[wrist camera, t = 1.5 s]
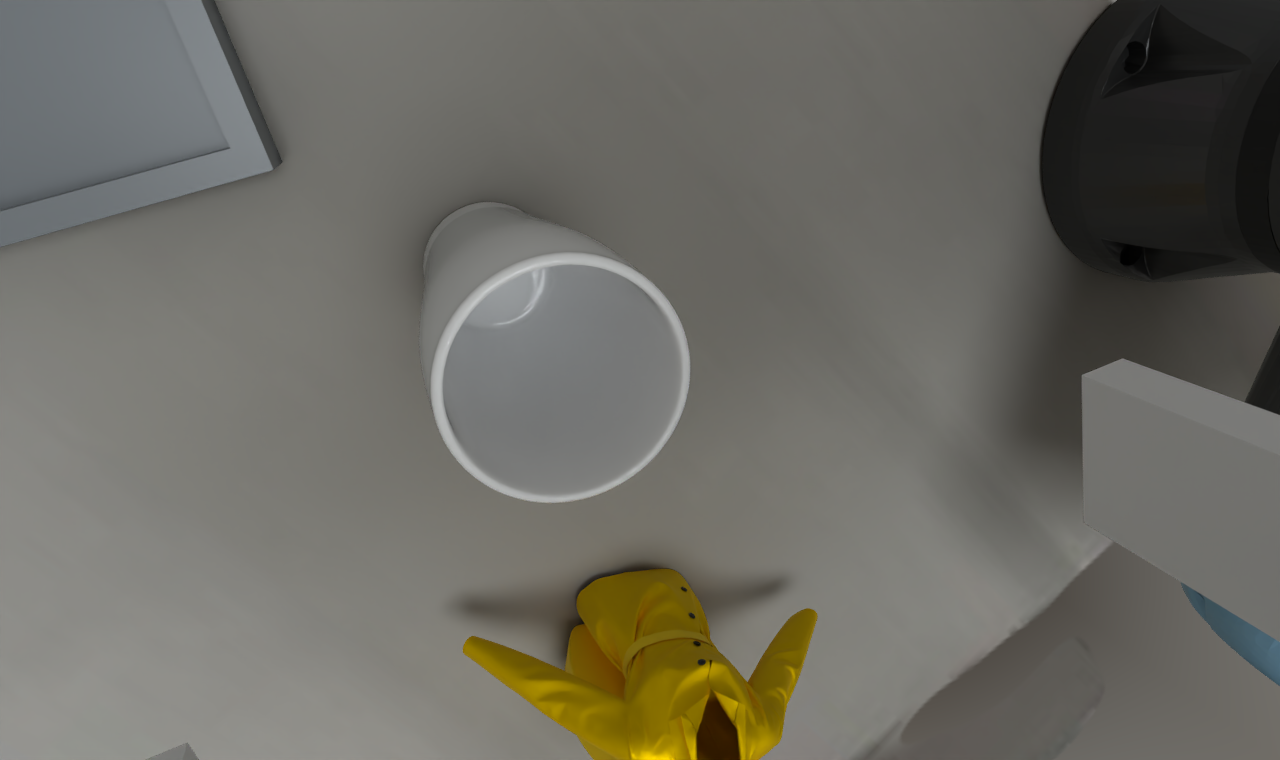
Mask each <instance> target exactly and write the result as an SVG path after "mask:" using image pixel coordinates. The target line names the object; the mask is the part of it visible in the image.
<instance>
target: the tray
mask: <svg viewBox="0 0 1280 760" xmlns="http://www.w3.org/2000/svg"><path fill="white" fill-rule="evenodd" d="M281 163H282V160H281V158H280V156H279V153H278V151H277V148H276V146H275V144H274V141H273V139H272V137H271V134H270V132H269V129H268V127H267V125H266V122H265V120H264V118H263V115H262V113H261V110H260V108H259V106H258V103H257V101H256V99H255V96H254V94H253V91H252V89H251V87H250V84H249V82H248V80H247V77H246V75H245V72H244V70H243V68H242V65H241V63H240V61H239V58H238V56H237V54H236V51H235V49H234V46H233V44H232V42H231V39H230V37H229V35H228V32H227V30H226V27H225V25H224V23H223V20H222V18H221V16H220V13H219V11H218V8H217V6H216V4H215V1H214V0H0V247H2V246H6V245H9V244H13V243H16V242H20V241H23V240H27V239H30V238H34V237H37V236H41V235H45V234H48V233H52V232H55V231H59V230H62V229H66V228H69V227H73V226H76V225H80V224H84V223H87V222H91V221H94V220H98V219H101V218H105V217H108V216H112V215H115V214H119V213H123V212H126V211H130V210H133V209H137V208H140V207H144V206H147V205H151V204H154V203H158V202H162V201H165V200H169V199H172V198H176V197H179V196H183V195H186V194H190V193H193V192H197V191H200V190H204V189H208V188H211V187H215V186H218V185H222V184H225V183H229V182H232V181H236V180H239V179H243V178H247V177H250V176H254V175H257V174H261V173H264V172H268V171H271V170H274V169H275V168H276V167H277V166H279V165H280V164H281Z"/></svg>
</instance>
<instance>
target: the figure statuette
mask: <svg viewBox="0 0 1280 760" xmlns="http://www.w3.org/2000/svg"><path fill="white" fill-rule="evenodd" d="M577 611H578V613H579V615H580V617H581V619H582V620H583V622H584V623H585V624H582V625H577V626H576V627H574V628H573V630H572V632H571V635H570V638H569V645H568V652H567V658H566V665H565V671H564V670H562V669H559V668H557V667H555V666H552V665H550V664H548V663H545V662H543V661H541V660H539V659H536V658H534V657H532V656H529V655H527V654H524V653H521V652H519V651H516V650H514V649H511V648H508V647H506V646H503V645H500V644H497V643H494V642H491V641H488V640H485V639H482V638H479V637H475V636H471V637H469V638H468V639H467V640H466V642H465V644H464V646H463V653H464V654H465V655H466V656H468V657H469V658H471V659H472V660H473V661H475V662H476V663H477V664H479V665H480V666H481V667H483V668H484V669H485V670H487V671H488V672H489V673H490V674H492V675H493V676H494V677H496V678H497V679H498V680H500V681H501V682H502V683H504V684H505V685H506V686H508V687H509V688H510V689H512V690H513V691H515V692H516V693H518V694H519V695H520V696H522V697H523V698H524V699H526V700H527V701H528V702H530V703H531V704H532V705H533V706H535V707H536V708H537V709H538V710H540V711H541V712H542V713H544V714H545V715H547V716H548V717H549V718H551V719H552V720H554V721H555V722H557V723H558V724H560V725H561V726H563V727H564V728H566V729H568V730H569V731H571V732H572V733H574V734H576V735H577V737H578V738H579V740H580V742H581V743H582V745H583V746H584V748H585V749H586V750H587V752H588V753H589V754H590V756H591V757H592V758H593V759H594V760H758V759H760V758H761V757H763V756H764V755H765V754H767V753H768V752H769V751H770V750H771V749H772V748H773V747H774V746H776V745H777V744H778V743H779V742H780V740H781V737H782V732H783V724H784V718H785V712H786V708H787V703H788V702H789V700H790V697H791V695H792V693H793V690H794V688H795V686H796V683H797V681H798V678H799V676H800V673H801V670H802V667H803V664H804V660H805V657H806V654H807V650H808V647H809V643H810V640H811V637H812V634H813V631H814V627H815V624H816V621H817V613H816V612H815V611H814V610H813V609H809V608H807V609H804V610H801V611H799V612H797V613H796V614H794V615H793V616H791V617H790V618H789V619H788V621H787V622H786V623H785V624H784V625H783V627H782V628H781V629H780V631H779V632H778V633H777V635H776V636H775V638H774V639H773V641H772V642H771V643H770V645H769V646H768V648H767V650H766V651H765V653H764V654H763V656H762V658H761V659H760V661H759V663H758V665H757V667H756V668H755V670H754V672H753V674H752V675H751V677H750V679H749V681H748V682H747V681H746V680H745V679H744V678H743V677H742V676H741V675H740V673H739V672H738V670H737V669H736V668H735V667H734V666H733V665H732V664H731V663H730V662H729V661H728V660H727V659H726V658H725V657H724V656H723V655H722V654H721V653H720V652H719V651H718V649H717V648H716V647H715V645H714V644H713V643H712V641H711V640H710V632H709V626H708V622H707V619H706V617H705V613H704V611H703V609H702V607H701V604H700V602H699V601H698V599H697V597H696V596H695V594H694V592H693V591H692V589H691V588H690V586H689V585H688V583H687V582H686V580H685V579H684V578H683V576H682V575H681V574H679V573H678V572H677V571H675V570H672V569H651V570H644V571H634V572H623V573H621V574H617V575H613V576H608V577H603V578H600V579H597V580H595V581H594V582H592V583H591V584H589V585H588V586H587V587H586V588H584V589H583V590H582V591H581V592H580V593H579V595H578V597H577Z"/></svg>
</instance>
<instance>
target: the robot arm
mask: <svg viewBox="0 0 1280 760" xmlns="http://www.w3.org/2000/svg"><path fill="white" fill-rule="evenodd" d="M1043 184H1044V192H1045V197H1046V202H1047V206H1048V210H1049V213H1050V216H1051V219H1052V221H1053V224H1054V226H1055V228H1056V230H1057V232H1058V234H1059V235H1060V237H1061V239H1062V240H1063V241H1064V243H1065V244H1066V246H1067V247H1068V248H1069V249H1070V250H1071V251H1072V252H1073V253H1074V254H1075V255H1076V256H1077V257H1078V258H1079V259H1081V260H1082V261H1083V262H1085V263H1086V264H1088V265H1090V266H1092V267H1094V268H1096V269H1098V270H1101V271H1104V272H1108V273H1112V274H1116V275H1120V276H1124V277H1128V278H1132V279H1136V280H1141V281H1150V282H1171V281H1181V280H1192V279H1203V278H1213V277H1224V276H1235V275H1245V274H1256V273H1267V272H1274V273H1280V0H1117V1H1116V2H1115V3H1113V4H1112V5H1111V6H1110V7H1109V8H1108V9H1107V10H1106V11H1105V12H1104V13H1103V15H1102V16H1101V17H1100V18H1099V19H1098V20H1097V21H1096V22H1095V24H1094V25H1093V26H1092V28H1091V29H1090V30H1089V31H1088V33H1087V34H1086V36H1085V37H1084V39H1083V40H1082V41H1081V43H1080V45H1079V46H1078V48H1077V49H1076V51H1075V53H1074V54H1073V56H1072V58H1071V60H1070V62H1069V64H1068V66H1067V68H1066V70H1065V72H1064V74H1063V76H1062V78H1061V81H1060V83H1059V86H1058V88H1057V91H1056V94H1055V97H1054V100H1053V103H1052V106H1051V110H1050V113H1049V118H1048V122H1047V127H1046V132H1045V138H1044V147H1043ZM1082 438H1083V517H1084V523H1085V524H1087V525H1088V526H1090V527H1092V528H1093V529H1095V530H1097V531H1098V532H1100V533H1102V534H1103V535H1105V536H1106V537H1108V538H1110V539H1111V540H1113V541H1115V542H1116V543H1118V544H1120V545H1121V546H1123V547H1125V548H1126V549H1128V550H1129V551H1131V552H1133V553H1134V554H1136V555H1138V556H1139V557H1141V558H1143V559H1144V560H1146V561H1148V562H1149V563H1151V564H1153V565H1154V566H1156V567H1157V568H1159V569H1161V570H1163V571H1164V572H1166V573H1167V574H1169V575H1171V576H1173V577H1174V578H1175V579H1177V580H1179V581H1180V582H1181V585H1182V588H1183V590H1184V592H1185V594H1186V596H1187V597H1188V599H1189V601H1190V602H1191V604H1192V605H1193V607H1194V608H1195V610H1196V611H1197V612H1198V613H1199V614H1200V615H1201V616H1202V617H1203V618H1204V620H1205V621H1206V622H1207V623H1208V624H1209V625H1210V626H1211V628H1212V630H1214V631H1215V632H1216V634H1217V635H1218V636H1219V637H1220V638H1221V639H1223V640H1224V641H1225V642H1226V643H1227V644H1228V645H1229V646H1230V647H1231V648H1232V649H1234V650H1235V651H1236V652H1237V653H1238V654H1239V655H1240V656H1242V657H1243V658H1244V659H1245V660H1246V661H1248V662H1249V663H1250V664H1251V665H1252V666H1254V667H1255V668H1256V669H1257V670H1259V671H1260V672H1261V673H1263V674H1264V675H1265V676H1267V677H1268V678H1269V679H1271V680H1272V681H1273V682H1275V683H1276V684H1278V685H1279V686H1280V326H1279V329H1278V331H1277V333H1276V335H1275V337H1274V339H1273V342H1272V344H1271V346H1270V348H1269V350H1268V353H1267V355H1266V357H1265V359H1264V361H1263V363H1262V366H1261V368H1260V370H1259V372H1258V374H1257V376H1256V379H1255V381H1254V383H1253V385H1252V387H1251V389H1250V392H1249V394H1248V396H1247V398H1246V400H1245V402H1242V401H1239V400H1236V399H1234V398H1231V397H1228V396H1225V395H1223V394H1220V393H1217V392H1214V391H1211V390H1209V389H1206V388H1203V387H1200V386H1198V385H1195V384H1192V383H1189V382H1187V381H1184V380H1181V379H1178V378H1176V377H1173V376H1170V375H1167V374H1164V373H1162V372H1159V371H1156V370H1153V369H1151V368H1148V367H1145V366H1142V365H1140V364H1137V363H1134V362H1131V361H1128V360H1126V359H1123V358H1122V359H1120V360H1117V361H1115V362H1112V363H1110V364H1107V365H1105V366H1103V367H1100V368H1098V369H1095V370H1093V371H1090V372H1088V373H1086V374H1083V375H1082ZM146 760H199V759H198V757H197V756H196V754H195V753H194V752H193V750H192V749H191V747H190V746H189V744H188V743H185V744H183V745H180V746H178V747H176V748H173V749H171V750H168V751H166V752H163V753H161V754H159V755H156V756H154V757H151V758H149V759H146Z"/></svg>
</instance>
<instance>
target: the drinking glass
mask: <svg viewBox="0 0 1280 760" xmlns="http://www.w3.org/2000/svg"><path fill="white" fill-rule="evenodd" d="M423 275H424V290H423V297H422V305H421V313H420V322H419V353H420V363H421V370H422V375H423V380H424V385H425V389H426V393H427V396H428V400H429V403H430V406H431V409H432V412H433V415H434V418H435V421H436V424H437V427H438V430H439V432H440V434H441V436H442V439H443V441H444V442H445V444H446V446H447V447H448V449H449V451H450V452H451V453H452V455H453V456H454V457H455V459H456V460H457V461H458V462H459V463H460V464H461V466H462V467H463V468H464V469H465V470H466V471H468V472H469V473H470V474H471V475H472V476H473V477H475V478H476V479H477V480H479V481H480V482H482V483H483V484H485V485H486V486H488V487H490V488H492V489H494V490H496V491H498V492H500V493H502V494H505V495H508V496H511V497H514V498H517V499H521V500H526V501H532V502H540V503H561V502H570V501H577V500H581V499H585V498H589V497H592V496H595V495H598V494H601V493H603V492H606V491H608V490H610V489H612V488H614V487H616V486H618V485H620V484H622V483H623V482H625V481H627V480H628V479H630V478H631V477H633V476H634V475H635V474H637V473H638V472H639V471H640V470H642V469H643V468H644V467H645V466H646V465H647V464H648V463H649V462H650V461H651V460H652V459H653V458H654V457H655V456H656V455H657V454H658V453H659V452H660V450H661V449H662V448H663V446H664V445H665V444H666V442H667V441H668V439H669V438H670V436H671V435H672V433H673V431H674V429H675V428H676V426H677V424H678V422H679V419H680V417H681V415H682V412H683V409H684V406H685V403H686V399H687V395H688V390H689V383H690V353H689V348H688V342H687V339H686V335H685V331H684V329H683V326H682V324H681V321H680V319H679V317H678V315H677V313H676V311H675V309H674V308H673V306H672V305H671V303H670V302H669V300H668V299H667V298H666V297H665V295H664V294H663V293H662V292H661V291H660V290H659V289H658V288H657V287H656V286H655V285H654V284H653V283H652V282H651V281H650V280H649V279H647V278H646V277H645V276H644V275H643V274H642V273H641V272H640V271H639V270H638V269H637V268H635V267H634V266H633V265H632V264H631V263H629V262H628V261H627V260H625V259H624V258H623V257H622V256H620V255H619V254H618V253H616V252H615V251H613V250H612V249H610V248H609V247H607V246H605V245H604V244H602V243H601V242H599V241H597V240H595V239H593V238H591V237H589V236H587V235H585V234H583V233H581V232H579V231H576V230H574V229H571V228H568V227H565V226H562V225H559V224H556V223H553V222H550V221H546V220H543V219H540V218H537V217H534V216H531V215H528V214H527V213H525V212H524V211H522V210H520V209H518V208H516V207H513V206H511V205H507V204H503V203H498V202H480V203H474V204H470V205H467V206H464V207H462V208H460V209H458V210H456V211H454V212H453V213H451V214H450V215H448V216H447V217H446V218H445V219H444V220H443V221H442V222H441V223H440V224H439V225H438V226H437V227H436V229H435V230H434V231H433V233H432V235H431V237H430V239H429V241H428V243H427V246H426V249H425V253H424V259H423Z"/></svg>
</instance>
